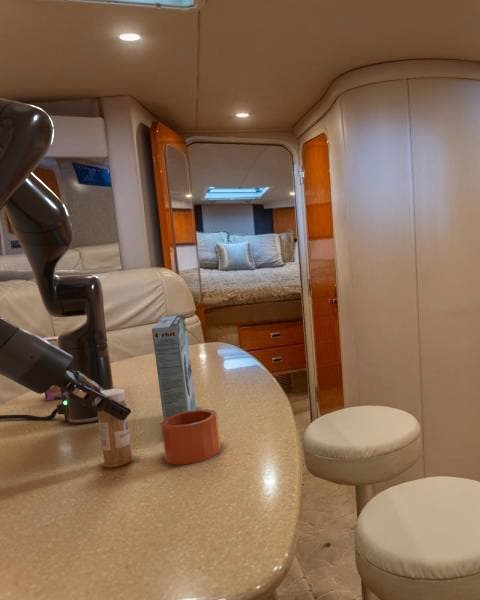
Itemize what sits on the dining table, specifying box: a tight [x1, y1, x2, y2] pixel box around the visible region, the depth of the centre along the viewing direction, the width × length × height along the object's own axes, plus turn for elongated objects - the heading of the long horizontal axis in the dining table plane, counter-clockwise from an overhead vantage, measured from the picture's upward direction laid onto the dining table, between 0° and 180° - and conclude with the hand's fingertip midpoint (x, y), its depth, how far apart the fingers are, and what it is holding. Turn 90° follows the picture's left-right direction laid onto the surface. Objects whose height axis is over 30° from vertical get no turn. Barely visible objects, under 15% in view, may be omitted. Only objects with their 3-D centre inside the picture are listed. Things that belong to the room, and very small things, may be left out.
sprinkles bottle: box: [95, 388, 134, 468], centre depth 92 cm, size 5×5×13 cm
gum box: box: [151, 314, 197, 420], centre depth 111 cm, size 20×5×23 cm, turn 23°
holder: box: [160, 408, 221, 465], centre depth 95 cm, size 9×9×7 cm
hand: (124, 412), depth 93 cm, fingers closed on sprinkles bottle, 4 cm apart
